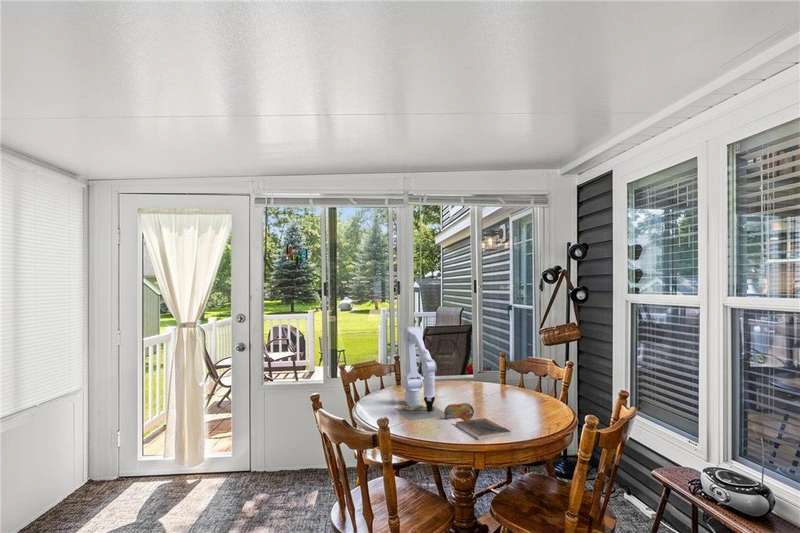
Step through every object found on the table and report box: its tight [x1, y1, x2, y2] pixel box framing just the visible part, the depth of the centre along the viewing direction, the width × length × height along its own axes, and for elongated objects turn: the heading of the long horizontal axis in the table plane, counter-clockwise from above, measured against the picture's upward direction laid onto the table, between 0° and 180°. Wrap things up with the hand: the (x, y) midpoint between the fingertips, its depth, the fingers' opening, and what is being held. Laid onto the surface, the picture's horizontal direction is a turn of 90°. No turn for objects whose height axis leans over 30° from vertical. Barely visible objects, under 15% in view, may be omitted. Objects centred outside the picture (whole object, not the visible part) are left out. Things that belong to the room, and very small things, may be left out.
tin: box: [443, 402, 475, 421], centre depth 221 cm, size 15×3×8 cm, turn 105°
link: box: [401, 402, 435, 410], centre depth 234 cm, size 17×4×3 cm, turn 86°
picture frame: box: [455, 417, 512, 441], centre depth 206 cm, size 16×2×22 cm
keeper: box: [414, 400, 420, 407], centre depth 235 cm, size 10×2×4 cm, turn 175°
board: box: [394, 405, 446, 421], centre depth 230 cm, size 22×22×2 cm
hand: (429, 411), depth 228 cm, fingers closed
